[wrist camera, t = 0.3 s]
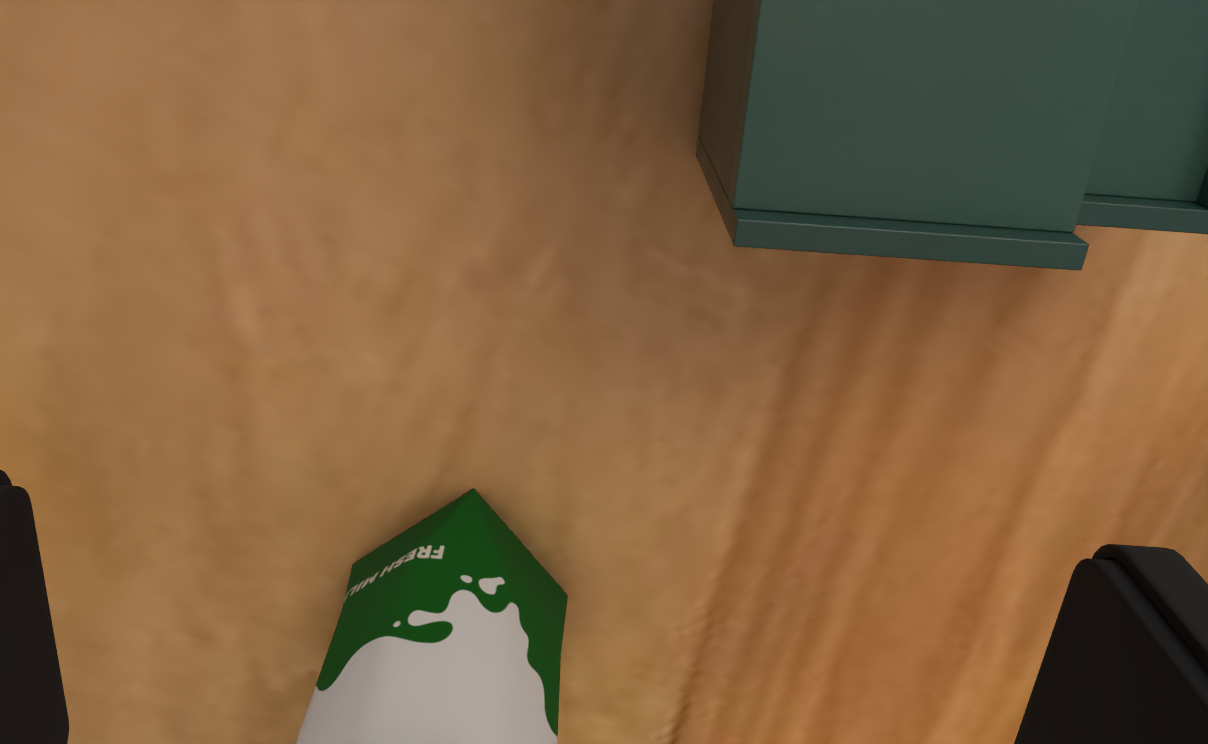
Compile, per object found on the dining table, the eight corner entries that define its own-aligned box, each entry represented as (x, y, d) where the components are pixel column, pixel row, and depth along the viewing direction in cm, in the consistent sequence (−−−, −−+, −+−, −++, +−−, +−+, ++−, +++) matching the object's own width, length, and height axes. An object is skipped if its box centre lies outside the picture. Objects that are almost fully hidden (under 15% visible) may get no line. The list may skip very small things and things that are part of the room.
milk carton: (447, 683, 49) (364, 1144, 31) (322, 556, 46) (147, 988, 28) (596, 598, 47) (601, 1038, 29) (476, 459, 44) (396, 856, 26)
